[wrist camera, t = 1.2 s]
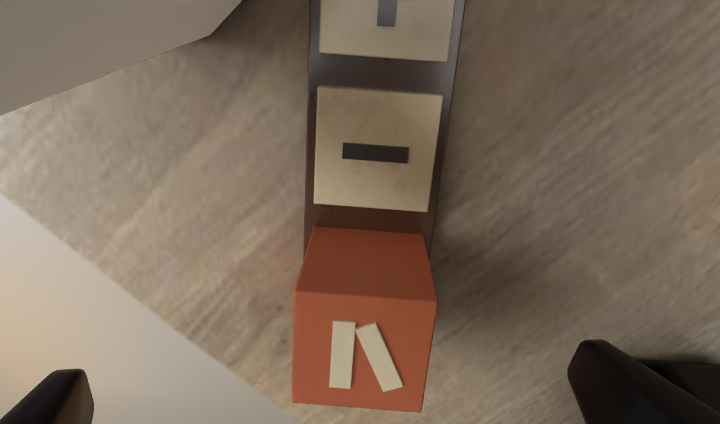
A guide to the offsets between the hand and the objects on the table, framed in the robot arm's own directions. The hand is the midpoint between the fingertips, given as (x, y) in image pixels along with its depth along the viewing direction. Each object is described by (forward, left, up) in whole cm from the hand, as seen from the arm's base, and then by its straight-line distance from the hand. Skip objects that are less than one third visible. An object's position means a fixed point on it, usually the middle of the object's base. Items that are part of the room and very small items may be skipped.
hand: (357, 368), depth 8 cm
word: (+1, 0, -11) cm, 11 cm away
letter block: (-4, 0, -10) cm, 11 cm away
